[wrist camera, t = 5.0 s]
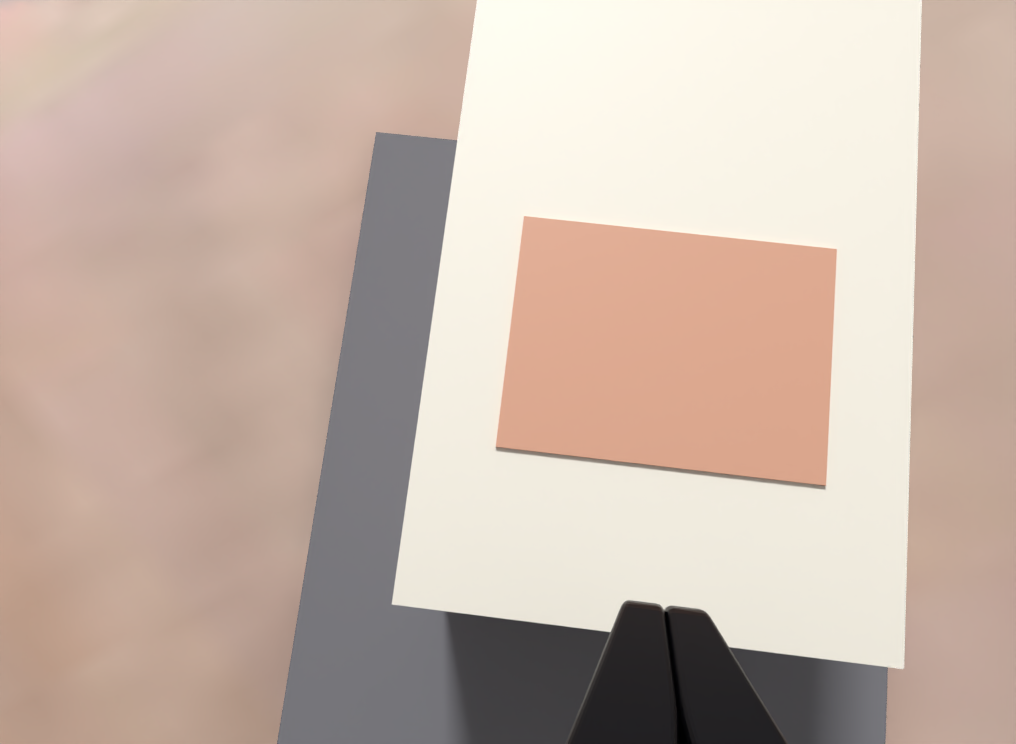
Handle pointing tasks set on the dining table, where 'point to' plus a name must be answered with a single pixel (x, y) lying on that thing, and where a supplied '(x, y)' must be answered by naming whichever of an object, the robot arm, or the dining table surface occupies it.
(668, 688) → the robot arm
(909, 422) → the block
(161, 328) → the dining table surface
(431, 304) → the mat
